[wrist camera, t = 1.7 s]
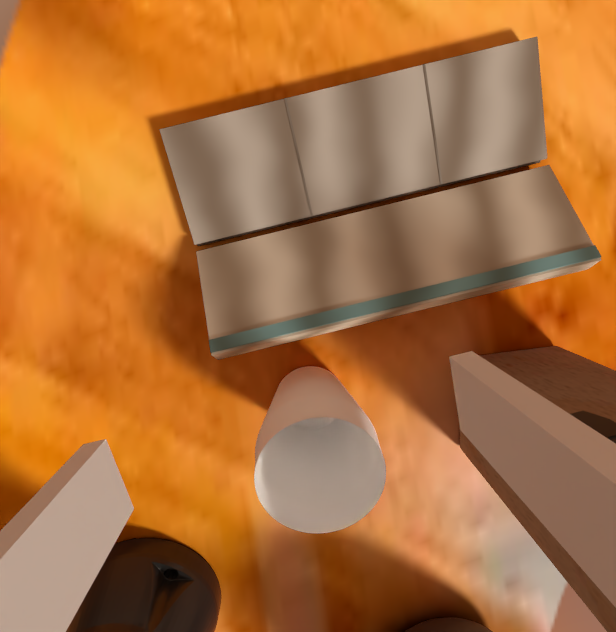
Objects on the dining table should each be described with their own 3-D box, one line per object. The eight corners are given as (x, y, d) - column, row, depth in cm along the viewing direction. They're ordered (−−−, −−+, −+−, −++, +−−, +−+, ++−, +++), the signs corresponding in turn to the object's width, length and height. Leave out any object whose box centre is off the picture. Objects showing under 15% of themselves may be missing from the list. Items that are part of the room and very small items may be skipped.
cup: (263, 440, 37) (252, 537, 25) (262, 353, 35) (250, 415, 23) (353, 439, 37) (384, 534, 26) (358, 353, 35) (393, 413, 24)
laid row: (199, 245, 32) (194, 246, 31) (166, 134, 30) (159, 129, 29) (534, 163, 32) (547, 160, 31) (524, 46, 30) (537, 36, 29)
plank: (218, 359, 29) (210, 355, 28) (202, 260, 32) (195, 250, 30) (587, 269, 29) (602, 259, 28) (539, 177, 32) (549, 163, 30)
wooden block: (455, 356, 36) (656, 504, 16) (556, 343, 36) (871, 474, 17) (457, 448, 38) (636, 674, 19) (552, 435, 38) (826, 645, 19)
